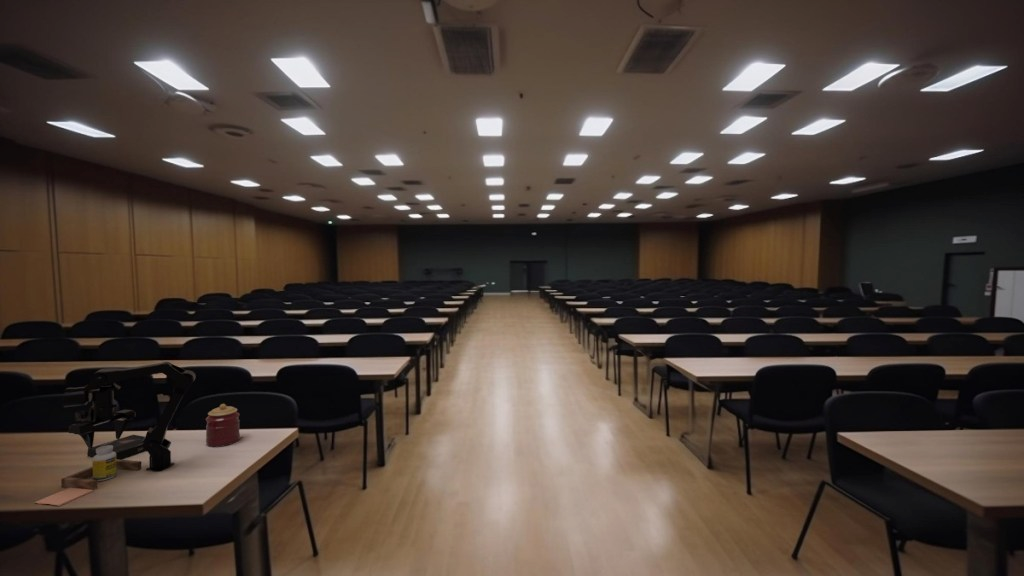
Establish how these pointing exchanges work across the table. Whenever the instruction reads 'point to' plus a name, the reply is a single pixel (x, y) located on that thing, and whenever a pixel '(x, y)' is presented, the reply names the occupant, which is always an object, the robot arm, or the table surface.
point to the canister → (222, 426)
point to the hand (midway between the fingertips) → (104, 443)
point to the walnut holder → (80, 478)
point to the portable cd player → (122, 447)
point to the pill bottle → (104, 463)
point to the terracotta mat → (64, 496)
